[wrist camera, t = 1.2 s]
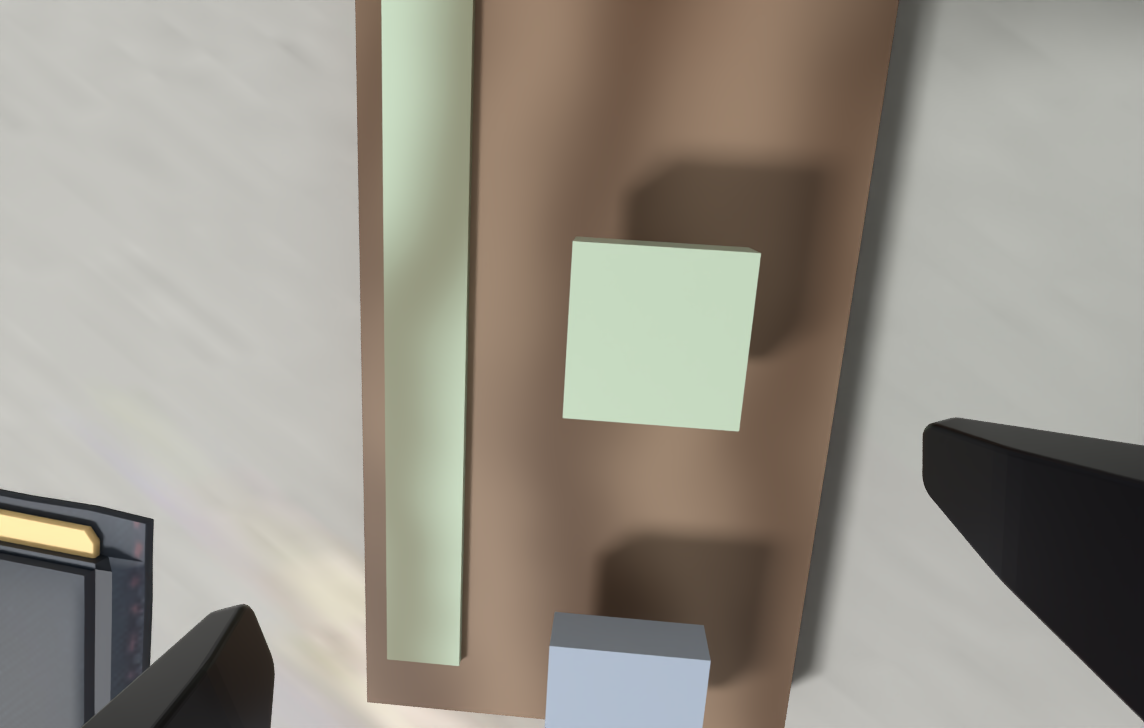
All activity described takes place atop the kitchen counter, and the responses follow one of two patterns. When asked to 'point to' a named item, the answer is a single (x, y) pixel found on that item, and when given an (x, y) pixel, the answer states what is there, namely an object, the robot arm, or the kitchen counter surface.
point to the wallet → (70, 608)
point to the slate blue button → (625, 673)
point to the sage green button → (659, 332)
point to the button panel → (540, 324)
